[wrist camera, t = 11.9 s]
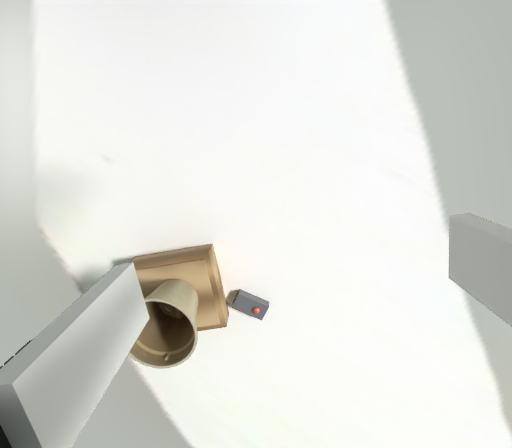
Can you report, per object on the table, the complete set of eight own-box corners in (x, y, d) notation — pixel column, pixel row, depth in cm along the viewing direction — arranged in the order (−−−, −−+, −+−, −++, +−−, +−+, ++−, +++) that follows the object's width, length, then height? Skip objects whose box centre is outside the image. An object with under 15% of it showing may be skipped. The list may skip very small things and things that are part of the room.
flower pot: (137, 315, 45) (109, 355, 37) (152, 259, 43) (126, 288, 34) (199, 334, 46) (185, 377, 38) (217, 279, 43) (207, 313, 35)
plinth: (135, 256, 47) (125, 266, 43) (212, 243, 46) (208, 253, 42) (156, 324, 50) (148, 339, 46) (228, 313, 49) (226, 328, 46)
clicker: (233, 301, 49) (232, 308, 47) (240, 288, 48) (239, 294, 46) (261, 313, 50) (261, 321, 48) (268, 300, 49) (269, 307, 47)
